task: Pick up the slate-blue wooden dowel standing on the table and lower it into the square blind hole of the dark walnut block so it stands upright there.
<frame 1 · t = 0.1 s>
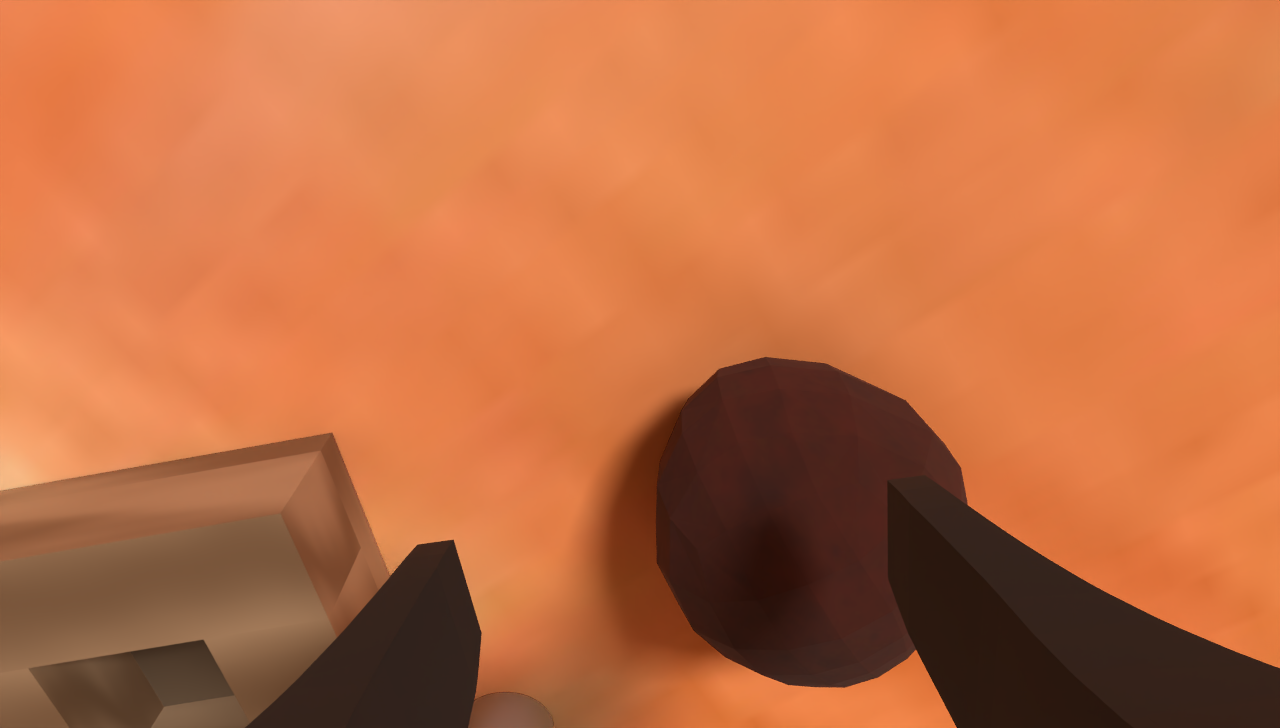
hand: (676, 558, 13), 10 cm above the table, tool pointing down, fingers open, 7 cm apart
walnut block: (219, 617, 26), on the table
dowel: (506, 725, 28), on the table
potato: (775, 440, 24), on the table
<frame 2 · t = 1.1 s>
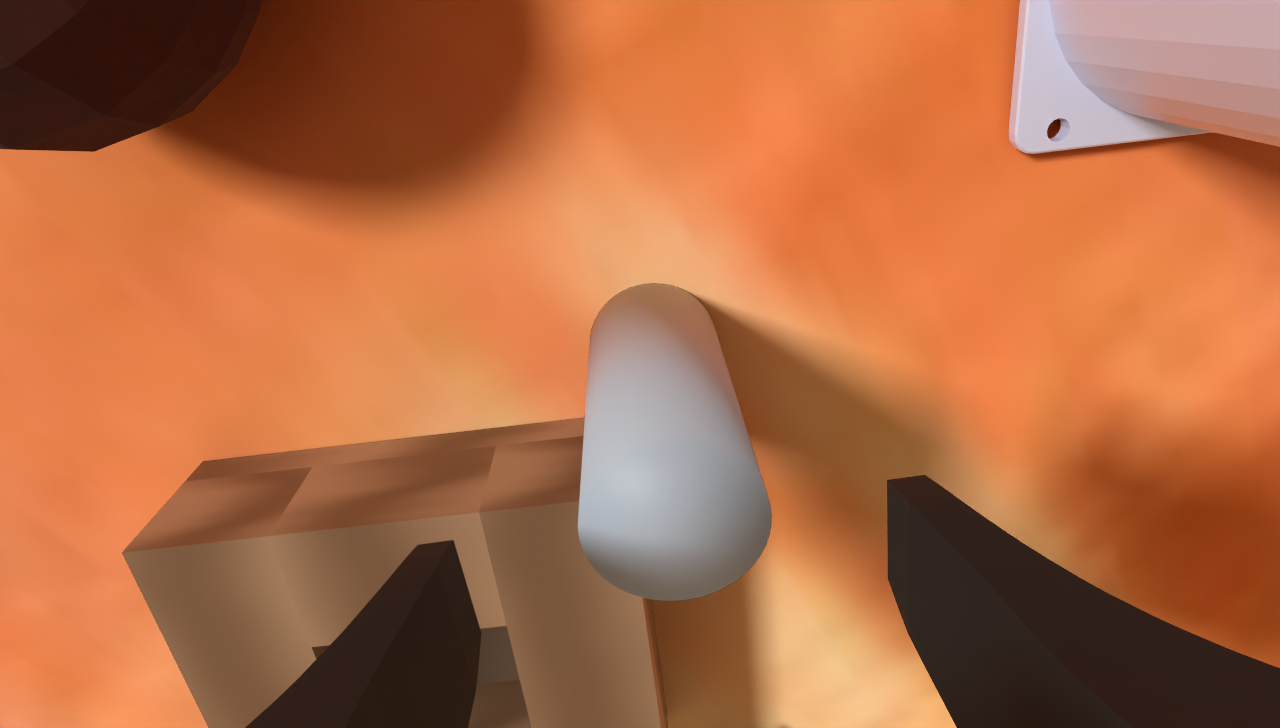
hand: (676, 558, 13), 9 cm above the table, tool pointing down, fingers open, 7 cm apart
walnut block: (458, 601, 24), on the table
dowel: (653, 343, 21), on the table
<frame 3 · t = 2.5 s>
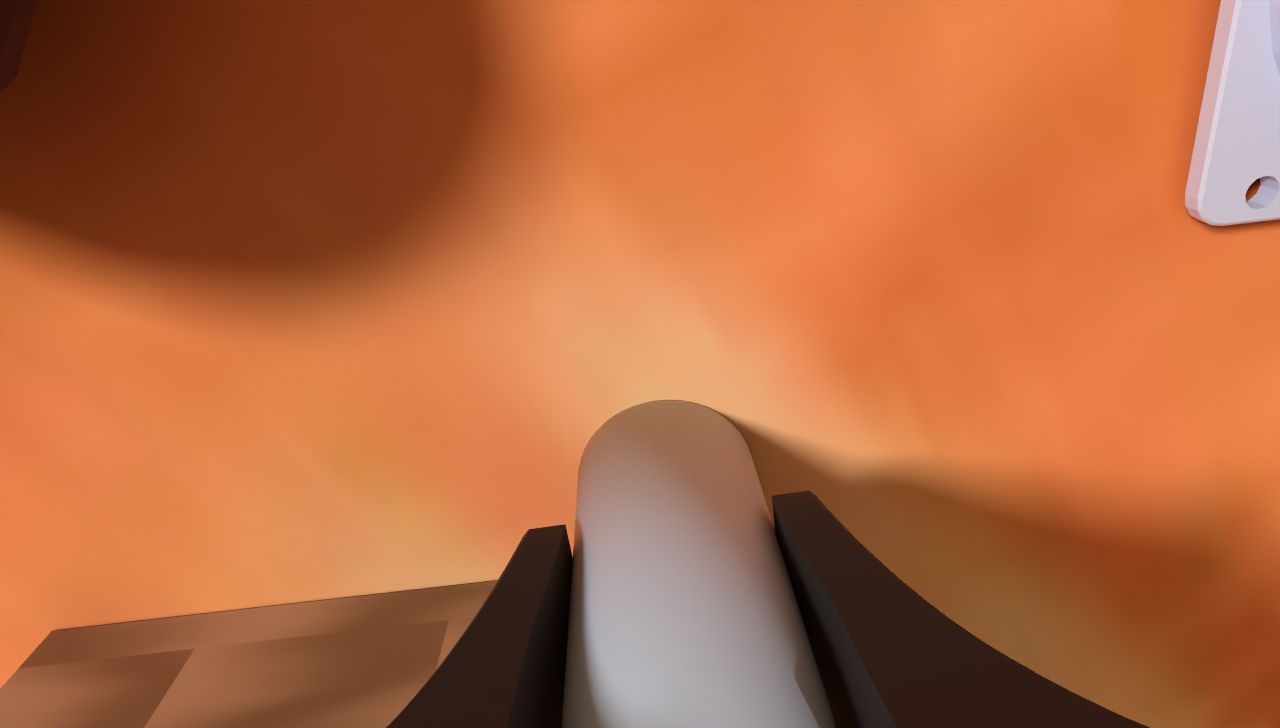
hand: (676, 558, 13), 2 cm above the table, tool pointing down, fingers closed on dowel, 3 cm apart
dowel: (666, 477, 15), on the table, touching gripper
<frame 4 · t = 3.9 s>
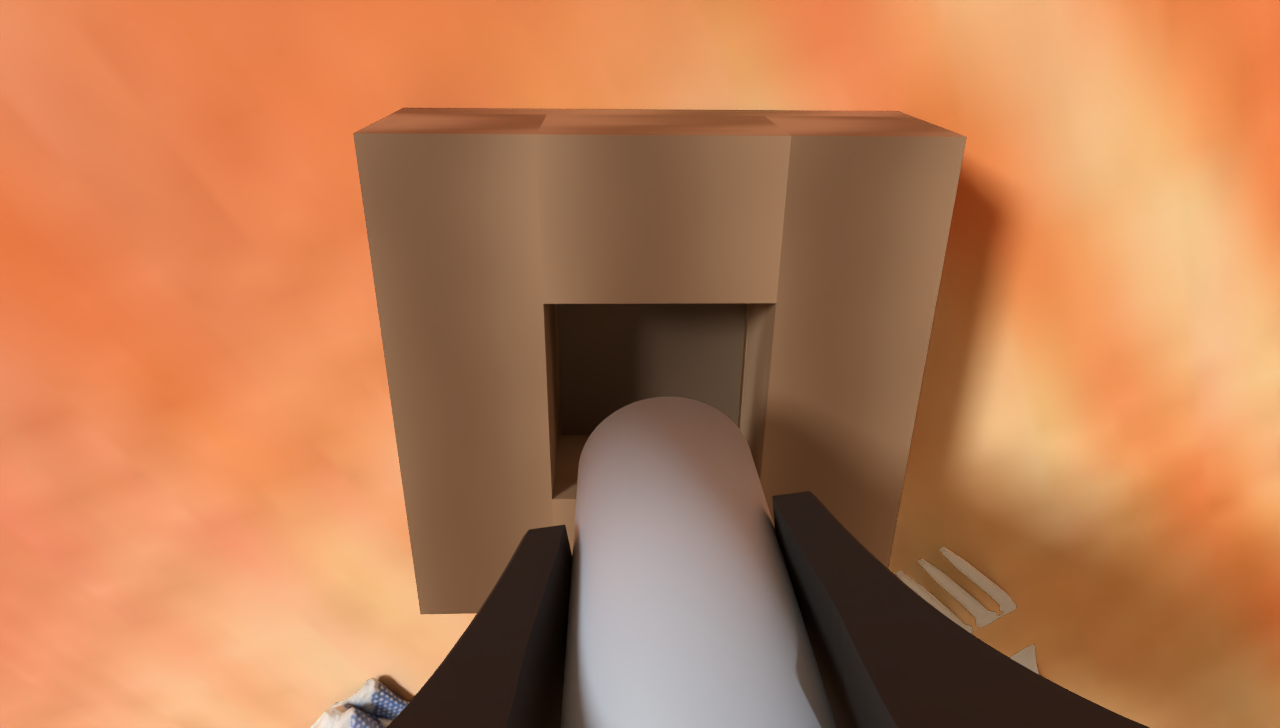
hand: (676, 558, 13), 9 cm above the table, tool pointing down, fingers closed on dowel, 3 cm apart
walnut block: (649, 338, 21), on the table
dowel: (665, 474, 15), point 7 cm above the table, touching gripper
fork: (1066, 720, 29), on the table
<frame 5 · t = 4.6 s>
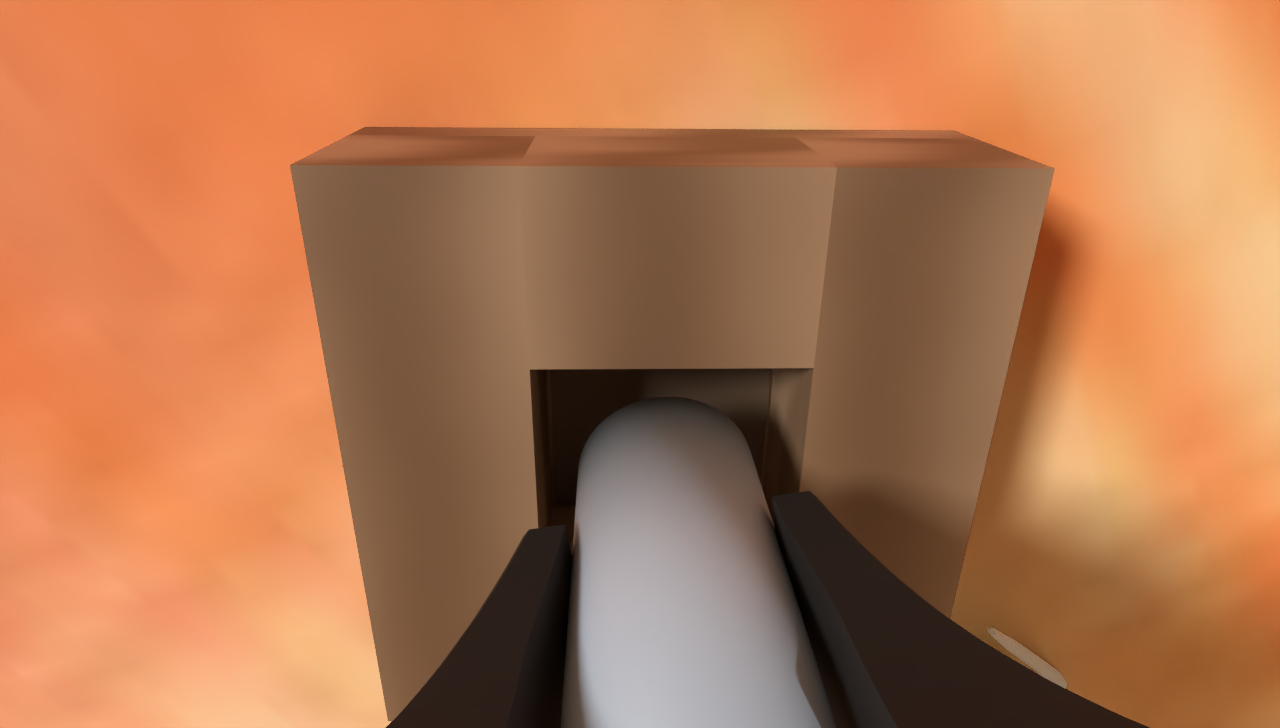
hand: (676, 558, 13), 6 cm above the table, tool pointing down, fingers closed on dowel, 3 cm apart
walnut block: (657, 392, 18), on the table
dowel: (665, 474, 15), point 4 cm above the table, touching gripper
when the fingers open (5 cm above the table, at t = 5.3 s): dowel drops 1 cm, resting on walnut block.
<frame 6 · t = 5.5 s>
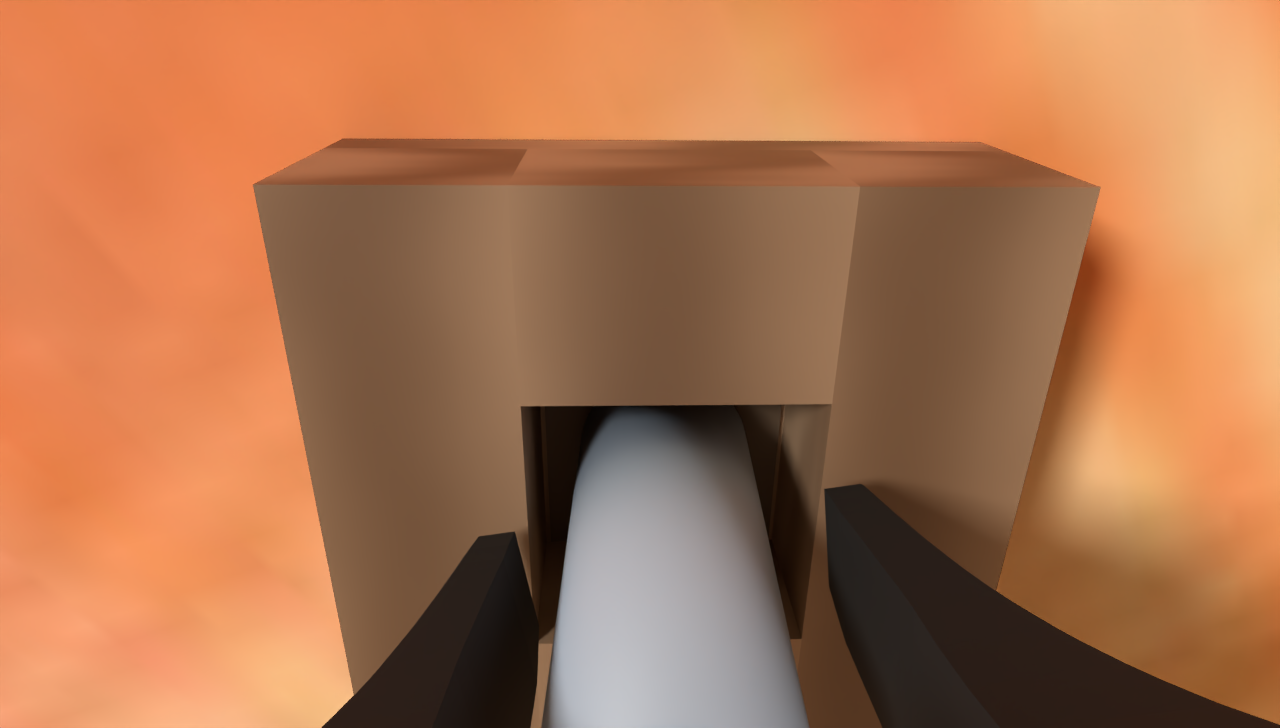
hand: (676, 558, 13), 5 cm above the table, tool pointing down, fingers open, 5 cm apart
walnut block: (659, 420, 17), on the table
dowel: (663, 446, 16), point 1 cm above the table, touching walnut block
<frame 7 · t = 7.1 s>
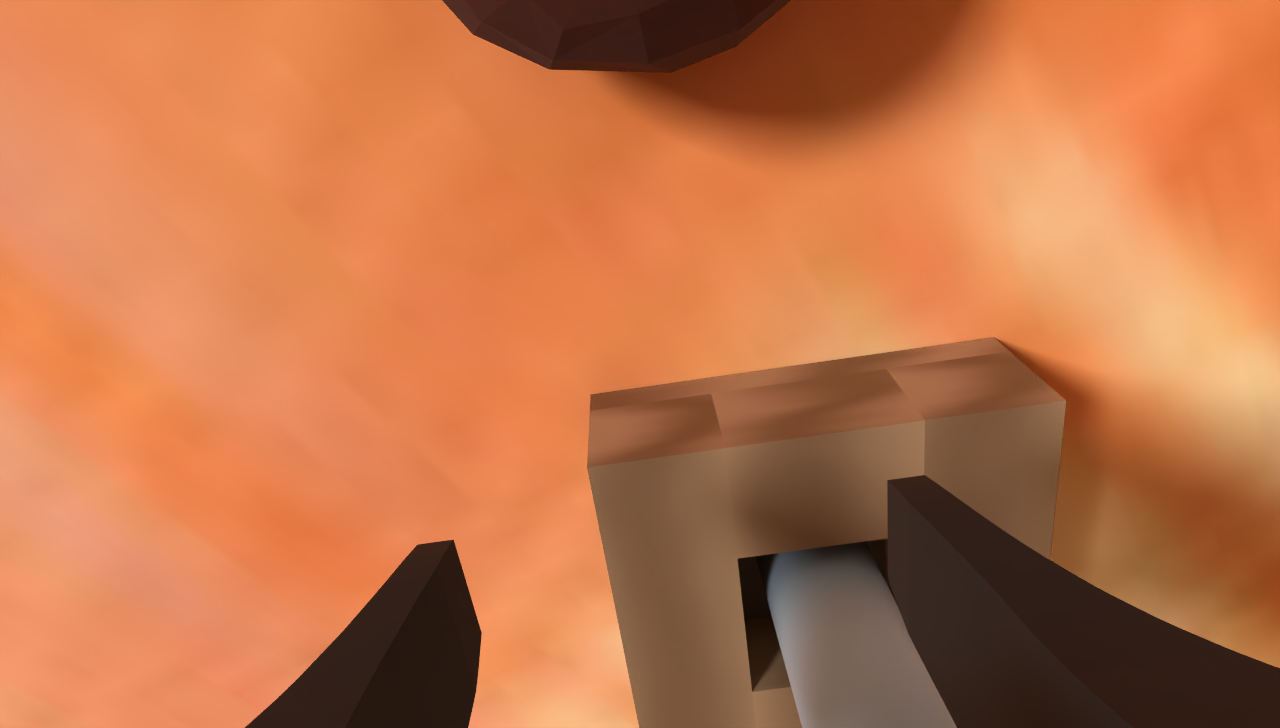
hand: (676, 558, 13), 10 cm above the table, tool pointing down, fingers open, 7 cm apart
walnut block: (801, 529, 26), on the table
dowel: (809, 550, 25), point 1 cm above the table, touching walnut block
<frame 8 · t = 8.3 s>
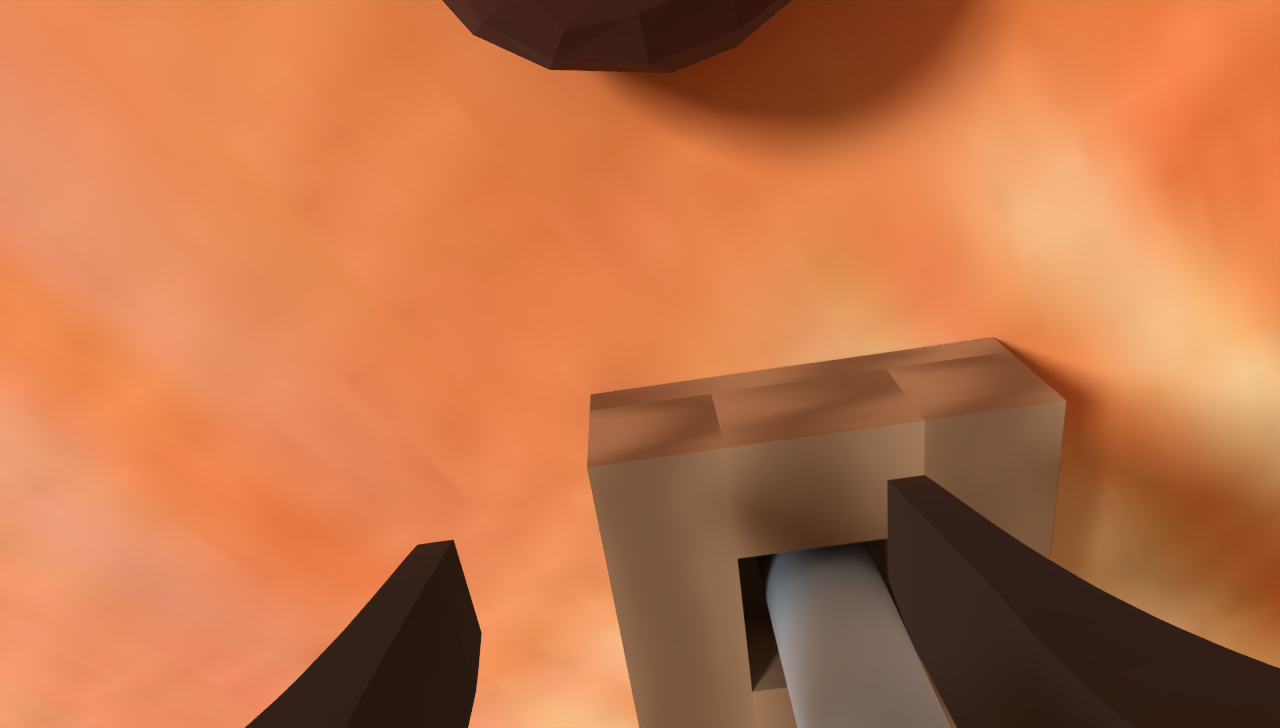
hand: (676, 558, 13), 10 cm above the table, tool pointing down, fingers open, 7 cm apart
walnut block: (801, 529, 26), on the table
dowel: (809, 550, 25), point 1 cm above the table, touching walnut block
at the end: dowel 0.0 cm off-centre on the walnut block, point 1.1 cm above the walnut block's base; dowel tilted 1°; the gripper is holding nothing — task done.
